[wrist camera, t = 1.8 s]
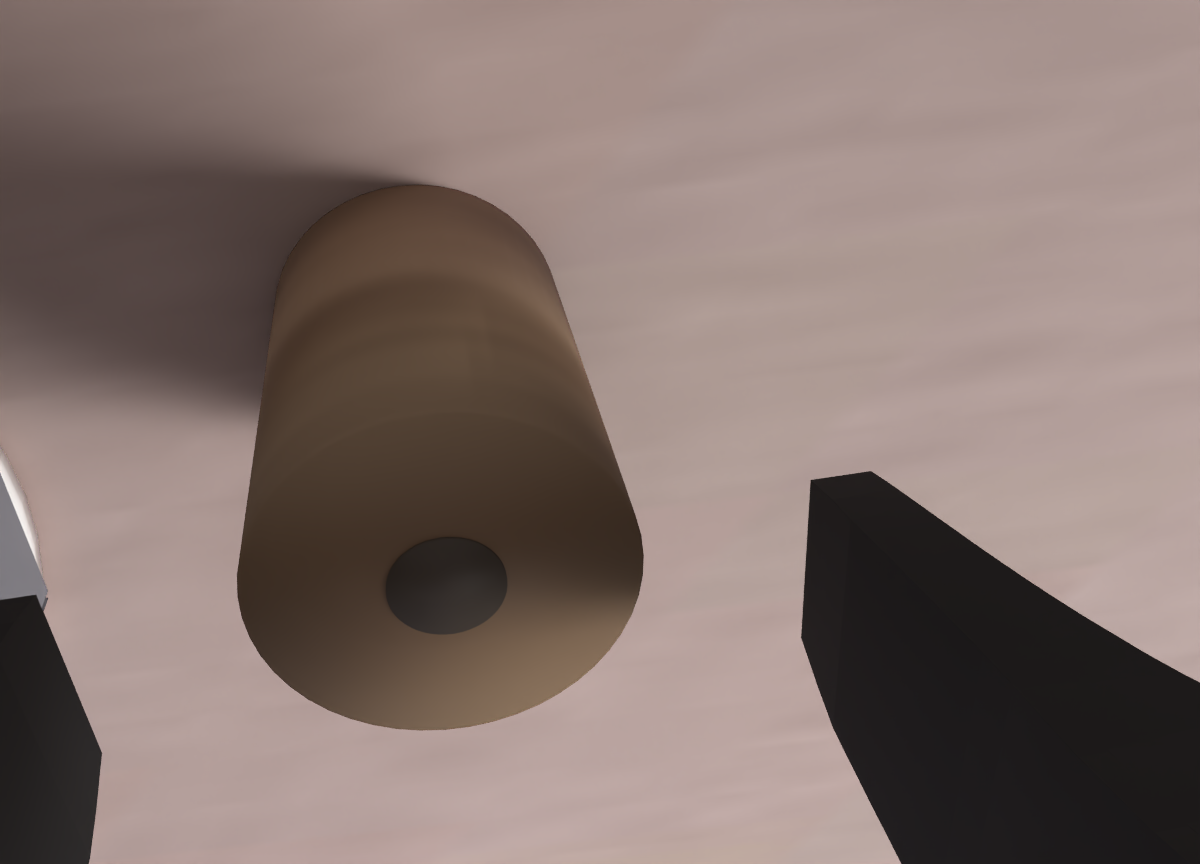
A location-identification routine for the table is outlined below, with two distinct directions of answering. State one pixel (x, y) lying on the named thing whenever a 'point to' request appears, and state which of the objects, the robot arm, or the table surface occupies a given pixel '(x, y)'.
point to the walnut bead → (430, 473)
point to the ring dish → (18, 541)
